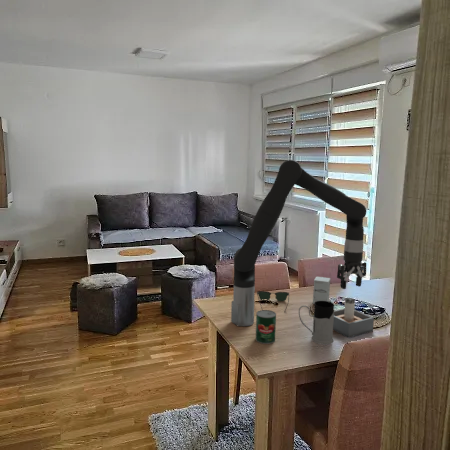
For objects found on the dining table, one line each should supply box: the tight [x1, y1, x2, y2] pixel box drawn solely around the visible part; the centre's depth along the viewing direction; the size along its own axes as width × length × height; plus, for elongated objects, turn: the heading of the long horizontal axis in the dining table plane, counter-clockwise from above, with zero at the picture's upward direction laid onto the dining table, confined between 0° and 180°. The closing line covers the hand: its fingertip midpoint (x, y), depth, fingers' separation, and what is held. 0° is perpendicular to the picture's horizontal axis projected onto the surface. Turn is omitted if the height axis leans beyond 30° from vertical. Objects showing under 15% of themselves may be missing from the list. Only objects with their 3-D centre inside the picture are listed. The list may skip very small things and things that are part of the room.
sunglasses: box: [256, 290, 290, 312], centre depth 200 cm, size 16×17×5 cm
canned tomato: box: [255, 309, 277, 345], centre depth 161 cm, size 8×8×11 cm
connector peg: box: [344, 297, 356, 322], centre depth 173 cm, size 4×4×12 cm
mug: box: [298, 301, 335, 345], centre depth 162 cm, size 9×14×15 cm, turn 81°
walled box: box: [333, 307, 375, 339], centre depth 173 cm, size 14×14×6 cm
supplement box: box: [312, 276, 331, 305], centre depth 204 cm, size 7×7×13 cm
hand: (350, 287), depth 171 cm, fingers open, 8 cm apart
